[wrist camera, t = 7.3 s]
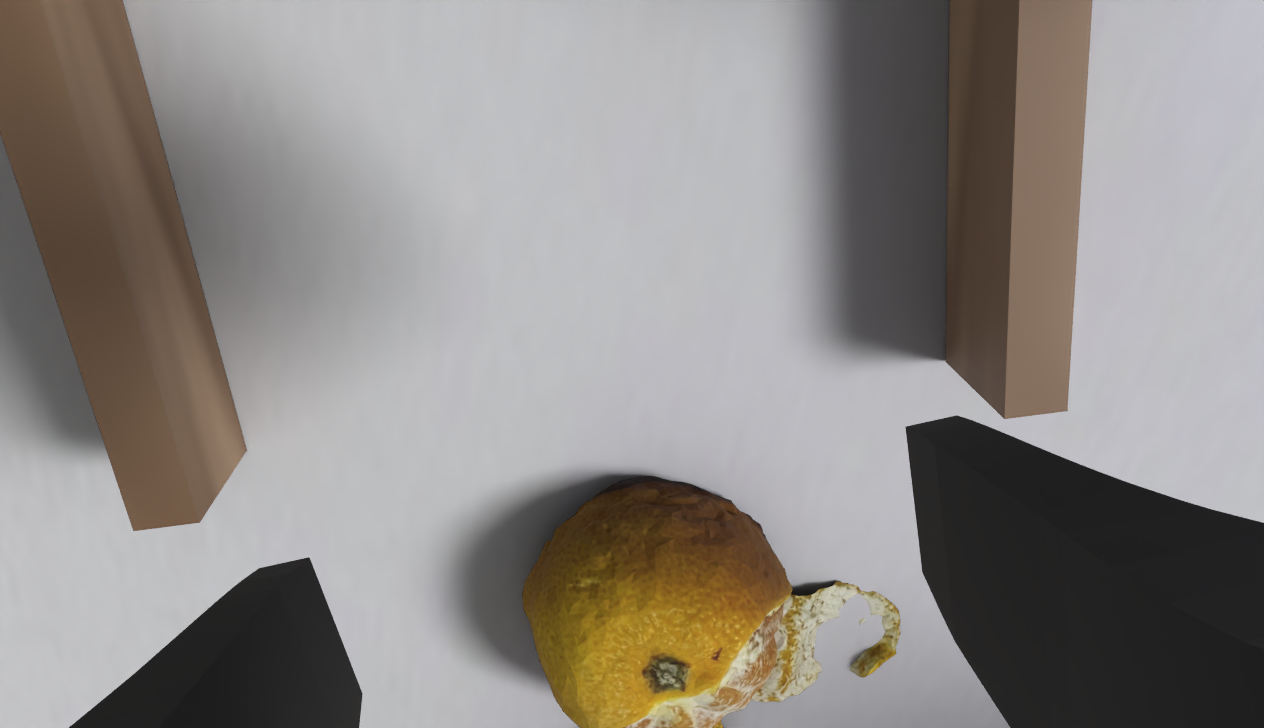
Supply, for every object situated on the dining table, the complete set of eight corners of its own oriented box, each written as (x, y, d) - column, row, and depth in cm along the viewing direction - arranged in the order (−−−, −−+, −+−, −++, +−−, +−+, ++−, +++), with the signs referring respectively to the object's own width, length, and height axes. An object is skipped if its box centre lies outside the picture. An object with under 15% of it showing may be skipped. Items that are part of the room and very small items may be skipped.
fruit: (645, 802, 26) (659, 928, 22) (430, 592, 23) (409, 699, 19) (915, 629, 24) (975, 735, 21) (723, 384, 22) (755, 460, 18)
